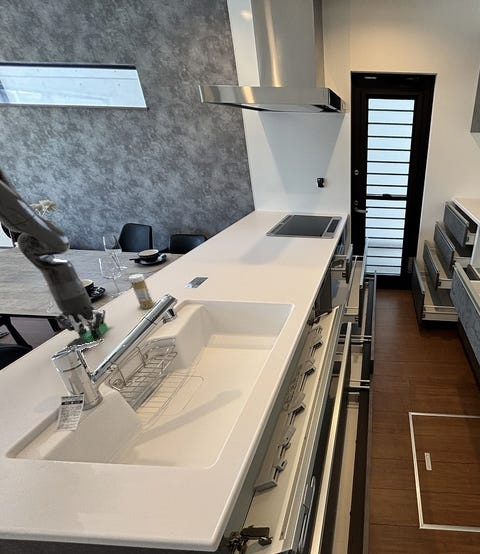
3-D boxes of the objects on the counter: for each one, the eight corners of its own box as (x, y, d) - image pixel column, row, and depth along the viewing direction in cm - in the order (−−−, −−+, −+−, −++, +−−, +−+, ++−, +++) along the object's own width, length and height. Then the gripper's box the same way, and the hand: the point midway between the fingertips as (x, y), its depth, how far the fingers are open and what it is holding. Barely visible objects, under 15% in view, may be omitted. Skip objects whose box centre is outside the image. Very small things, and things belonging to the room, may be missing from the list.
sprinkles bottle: (156, 303, 124) (145, 273, 118) (150, 308, 119) (138, 278, 114) (144, 303, 123) (133, 273, 118) (137, 309, 119) (125, 278, 114)
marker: (99, 329, 107) (95, 322, 105) (109, 328, 107) (105, 321, 106) (71, 353, 95) (66, 345, 94) (82, 352, 95) (78, 344, 94)
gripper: (34, 301, 90) (60, 348, 97) (86, 297, 92) (108, 343, 99) (54, 289, 97) (77, 334, 104) (102, 286, 99) (121, 330, 106)
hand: (92, 338), depth 102 cm, fingers closed on marker, 2 cm apart
